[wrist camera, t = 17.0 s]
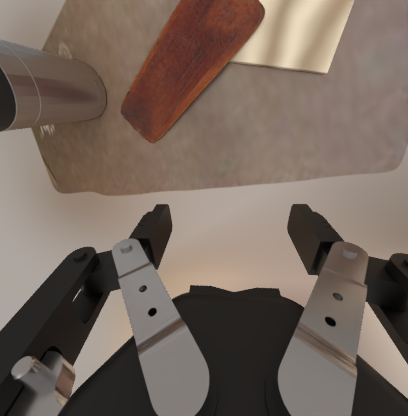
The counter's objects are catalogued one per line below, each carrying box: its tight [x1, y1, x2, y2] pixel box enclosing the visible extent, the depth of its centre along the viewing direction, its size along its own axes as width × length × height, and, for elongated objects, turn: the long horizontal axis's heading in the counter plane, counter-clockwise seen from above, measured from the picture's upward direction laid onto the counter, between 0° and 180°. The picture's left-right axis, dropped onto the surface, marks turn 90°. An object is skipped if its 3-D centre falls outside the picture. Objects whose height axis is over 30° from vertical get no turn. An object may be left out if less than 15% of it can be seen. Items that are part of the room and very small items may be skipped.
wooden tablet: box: [121, 0, 265, 143], centre depth 29 cm, size 27×10×2 cm, turn 133°
